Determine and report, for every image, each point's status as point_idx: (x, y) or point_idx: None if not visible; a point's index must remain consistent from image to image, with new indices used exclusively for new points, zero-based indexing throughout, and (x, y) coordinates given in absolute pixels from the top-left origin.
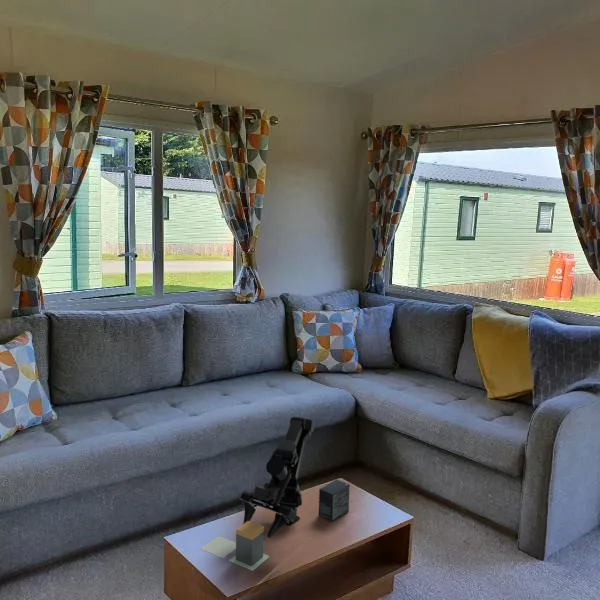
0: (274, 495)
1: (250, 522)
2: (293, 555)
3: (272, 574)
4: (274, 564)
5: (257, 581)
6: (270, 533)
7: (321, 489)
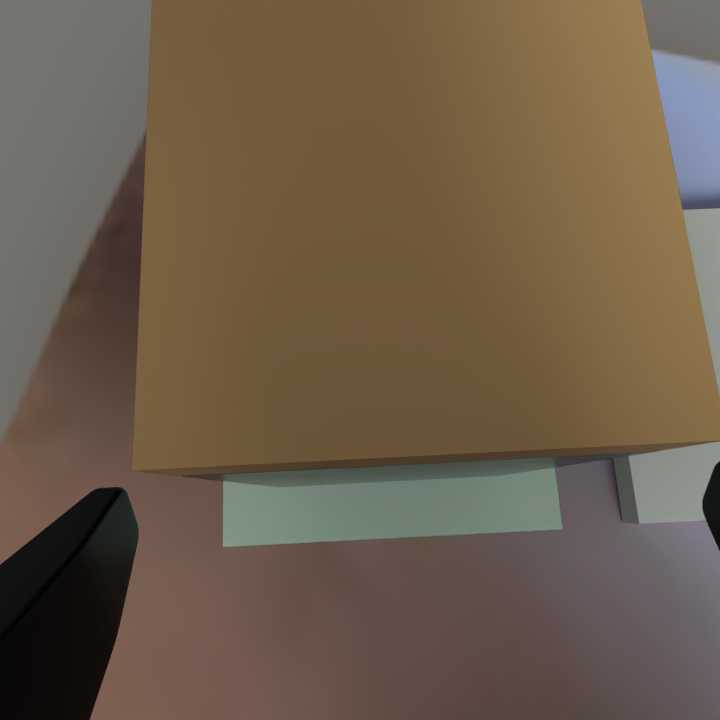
0: None
1: (601, 400)
2: None
3: (70, 352)
4: (138, 498)
5: (134, 195)
6: (35, 536)
7: None
